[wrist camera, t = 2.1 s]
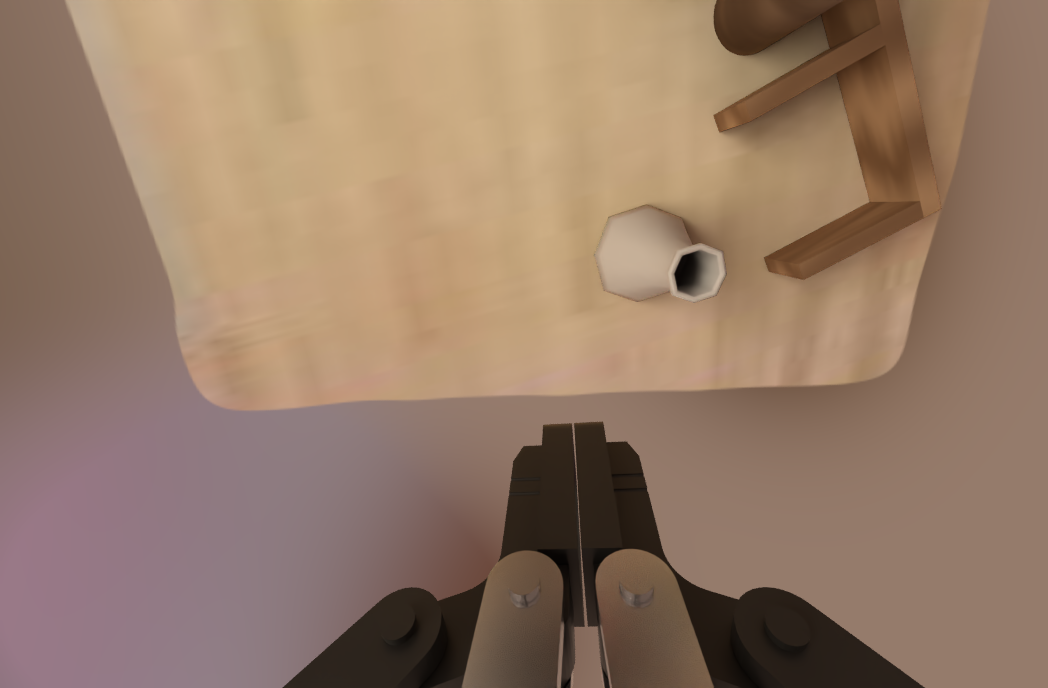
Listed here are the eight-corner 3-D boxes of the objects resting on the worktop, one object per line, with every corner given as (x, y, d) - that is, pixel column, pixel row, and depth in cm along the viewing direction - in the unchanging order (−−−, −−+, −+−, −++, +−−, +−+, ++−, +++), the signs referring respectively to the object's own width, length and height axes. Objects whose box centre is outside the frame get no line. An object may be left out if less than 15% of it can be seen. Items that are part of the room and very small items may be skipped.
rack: (656, -46, 26) (682, -89, 22) (803, -138, 25) (856, -200, 21) (768, 271, 33) (803, 279, 29) (889, 208, 32) (941, 208, 28)
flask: (596, 204, 31) (637, 202, 21) (693, 205, 31) (776, 203, 22) (590, 301, 33) (626, 338, 23) (681, 301, 33) (752, 338, 24)
